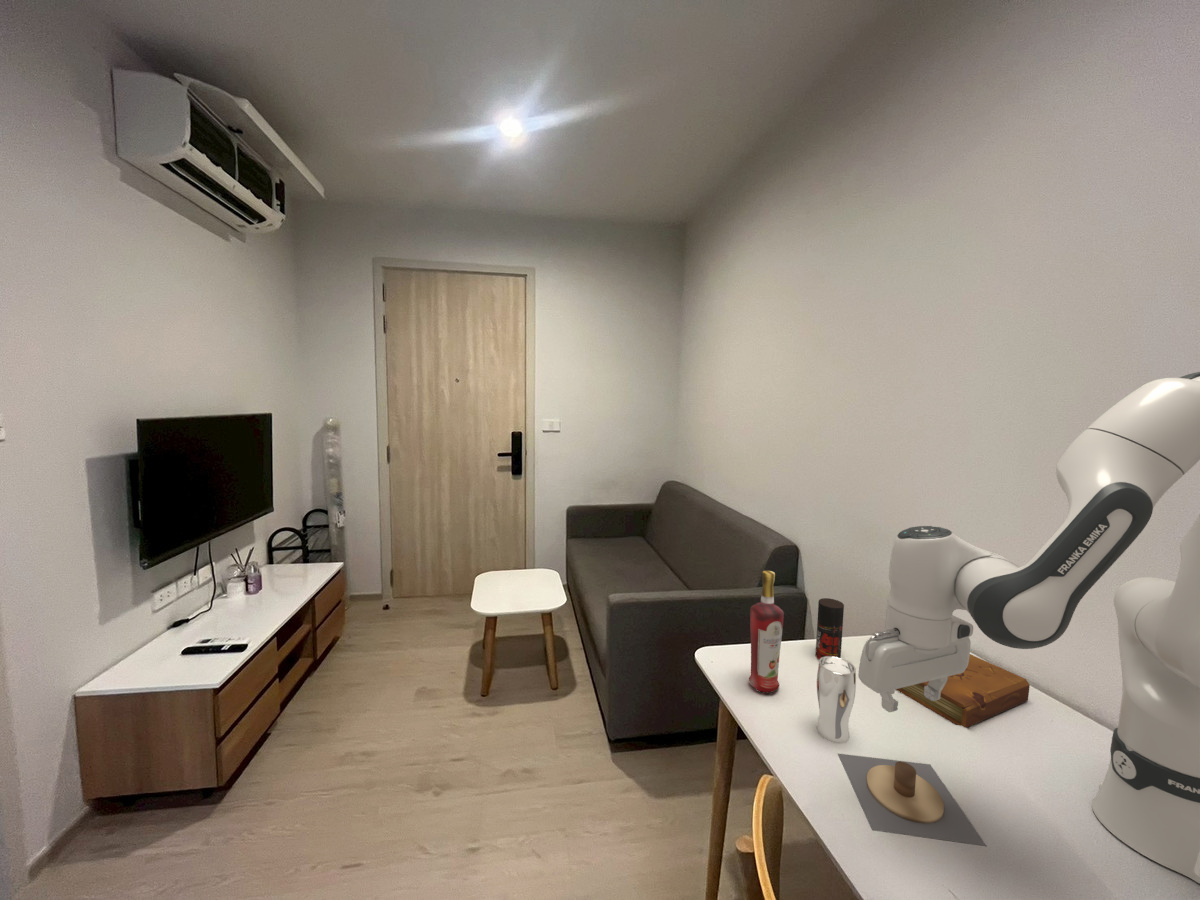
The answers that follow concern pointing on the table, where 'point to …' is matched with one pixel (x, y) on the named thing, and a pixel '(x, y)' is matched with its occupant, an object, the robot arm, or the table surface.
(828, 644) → the deodorant
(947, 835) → the rubber mat
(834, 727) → the beer glass
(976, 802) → the table surface
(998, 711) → the diary
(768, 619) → the liquor
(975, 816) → the table surface
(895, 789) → the oak lid
